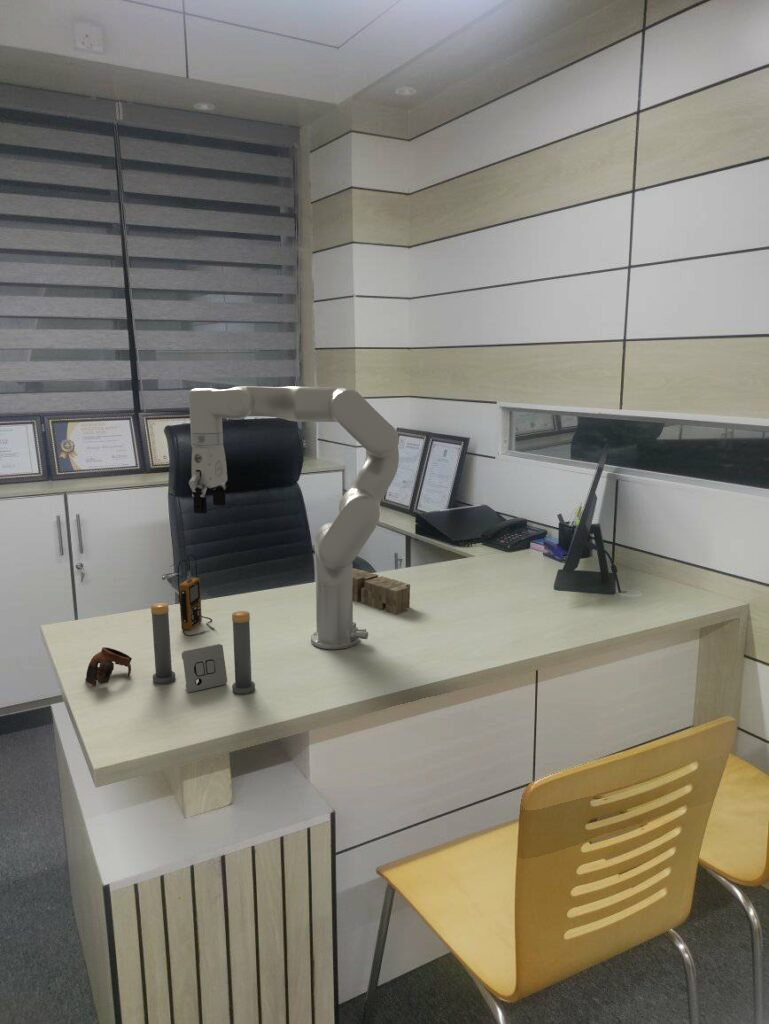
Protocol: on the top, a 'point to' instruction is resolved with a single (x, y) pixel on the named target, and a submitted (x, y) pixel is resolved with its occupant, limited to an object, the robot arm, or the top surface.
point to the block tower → (380, 592)
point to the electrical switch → (204, 667)
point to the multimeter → (190, 601)
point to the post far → (162, 644)
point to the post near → (242, 654)
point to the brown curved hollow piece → (106, 665)
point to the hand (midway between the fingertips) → (210, 508)
